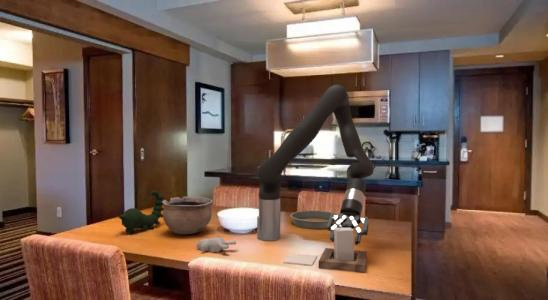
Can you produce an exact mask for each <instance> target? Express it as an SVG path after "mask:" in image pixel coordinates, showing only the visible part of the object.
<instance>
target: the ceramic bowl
mask: <svg viewBox="0 0 548 300" xmlns="http://www.w3.org/2000/svg"><path fill="white" fill-rule="evenodd" d="M169 200H170V201H167V200H166V199H163V200H162V201H163V202H162V203H163V204H162V206H163V208H164V210H163V212H162V214H163V217H162V219H163V221H164V224H165V225H166V227H167V228H168V229H169V230H170V231H172V233H174V234H177V235H183V236H184V235H193V234H197V233H201V231H203V230H204V229H205V228H206V227H207V226H208V225H209V224H210V221H211V220H212V215H213V214H212V213H213V212H212V204H213V199H211V198H208V197H199V196H182V197H178V196H176V197H170V199H169Z"/></svg>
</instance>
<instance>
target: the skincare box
mask: <svg viewBox="0 0 548 300" xmlns="http://www.w3.org/2000/svg"><path fill="white" fill-rule="evenodd" d="M354 232H355V229H354V228H353V229H352V228H334V242H333V243H334V244H333V249H334V258H333V259H336V260H347V261H354V250H355V237H354V235H355V234H354Z"/></svg>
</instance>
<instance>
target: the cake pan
mask: <svg viewBox="0 0 548 300" xmlns="http://www.w3.org/2000/svg"><path fill="white" fill-rule="evenodd" d="M331 214H334V215H335V216H338V215H339V214H337V213H335V212H331V211H326V210H300V211H299V210H298V211H296V212H295V211H294V212H292V213H291V214H290V215H289V216H290V218H292V221H293V225H294V226H296V227H298V228H303V229H309V228H310V230H323V229H325V228H326V229H328V228H327V224H328V221H329V218H330V215H331ZM310 219H323V220H327V221H309V220H310ZM337 221H338V219H337V220H336V221H335V222H334V223H333V226H334V225H335V223H336V222H337ZM326 229H325V230H326Z"/></svg>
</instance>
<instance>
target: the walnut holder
mask: <svg viewBox="0 0 548 300" xmlns="http://www.w3.org/2000/svg"><path fill="white" fill-rule="evenodd" d="M354 260H355V261H347V260H336V259H334V248H331V247H330V248H329V247H325V248H324V250H323V252H322V254H321V255H320V257H319V259H318V269H323V270H335V271H342V272H353V273H363V274H365V272H366V269H367V268H366V267H367V261H368V251H366V250H355V249H354Z"/></svg>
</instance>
